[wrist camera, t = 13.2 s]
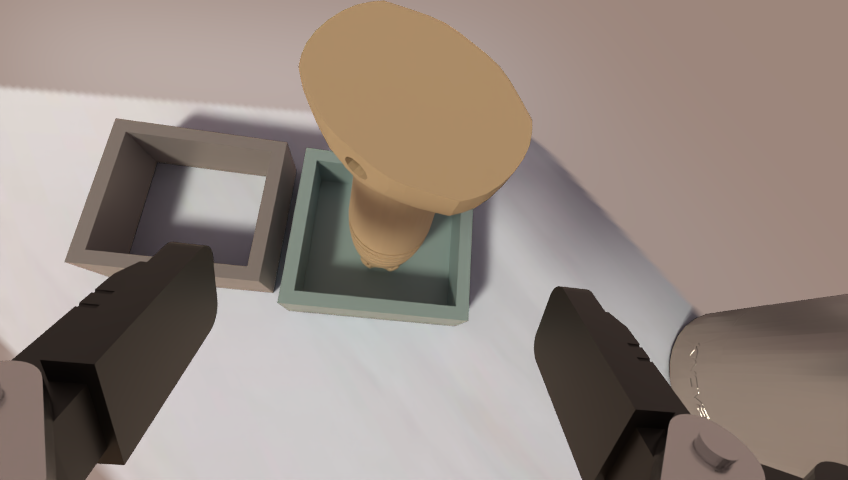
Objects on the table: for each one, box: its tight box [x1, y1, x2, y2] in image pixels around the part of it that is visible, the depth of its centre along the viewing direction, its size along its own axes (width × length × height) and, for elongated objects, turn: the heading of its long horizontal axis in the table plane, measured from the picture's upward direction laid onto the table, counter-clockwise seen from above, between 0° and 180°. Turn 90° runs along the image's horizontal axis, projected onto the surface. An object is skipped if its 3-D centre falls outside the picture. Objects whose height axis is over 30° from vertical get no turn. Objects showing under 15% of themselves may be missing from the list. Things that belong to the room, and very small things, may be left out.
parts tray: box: [277, 148, 473, 326], centre depth 24 cm, size 10×9×3 cm
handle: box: [299, 1, 532, 272], centre depth 18 cm, size 5×6×15 cm
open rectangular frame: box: [65, 118, 297, 293], centre depth 23 cm, size 9×8×4 cm
